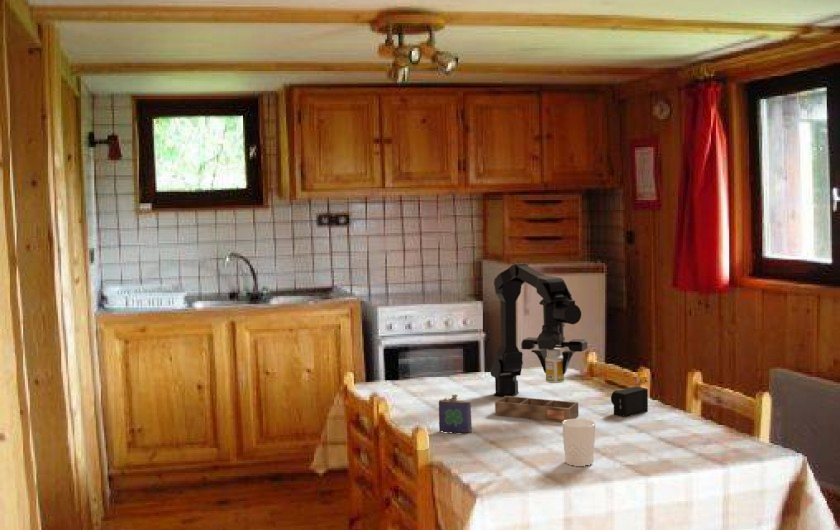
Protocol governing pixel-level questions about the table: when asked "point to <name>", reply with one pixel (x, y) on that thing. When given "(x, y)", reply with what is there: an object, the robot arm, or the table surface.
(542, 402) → the bottle rack
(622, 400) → the digital camera
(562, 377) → the supplement bottle
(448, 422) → the flask
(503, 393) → the robot arm
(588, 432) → the white cup
